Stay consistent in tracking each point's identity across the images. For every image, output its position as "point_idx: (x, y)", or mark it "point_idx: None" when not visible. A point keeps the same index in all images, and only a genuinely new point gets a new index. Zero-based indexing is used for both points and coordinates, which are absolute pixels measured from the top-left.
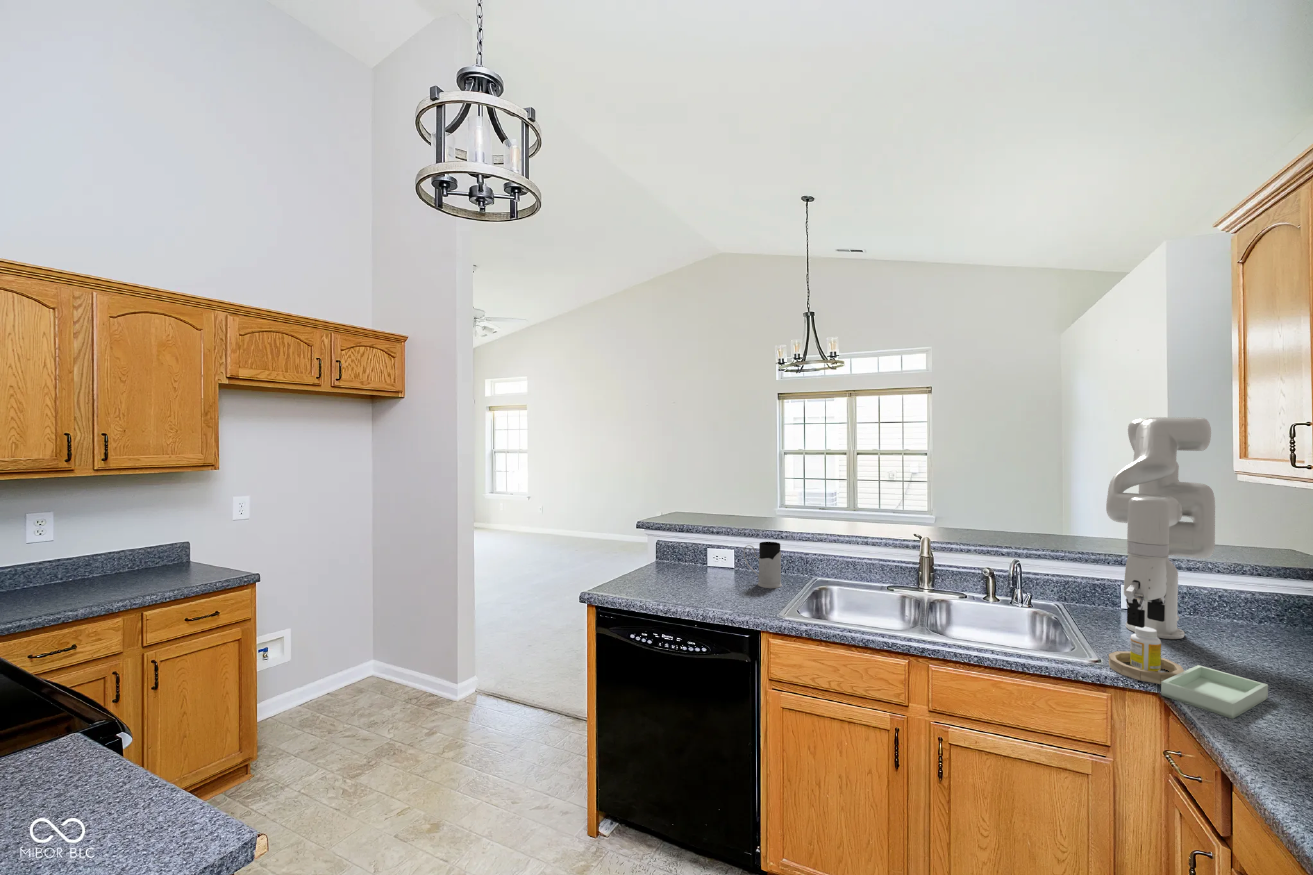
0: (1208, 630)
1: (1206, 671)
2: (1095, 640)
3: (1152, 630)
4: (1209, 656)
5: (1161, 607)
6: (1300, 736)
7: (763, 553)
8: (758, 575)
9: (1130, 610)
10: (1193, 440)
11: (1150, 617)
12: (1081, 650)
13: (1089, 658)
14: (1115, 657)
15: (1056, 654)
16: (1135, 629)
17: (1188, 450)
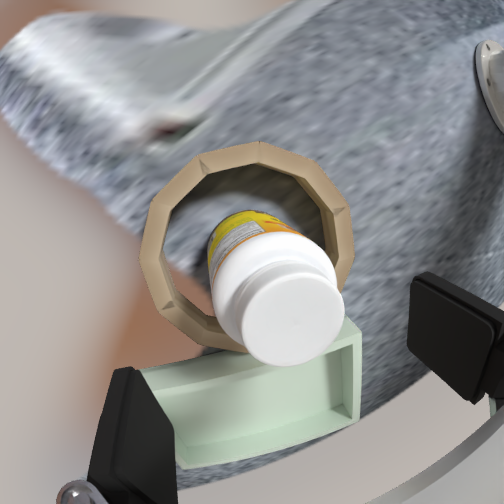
0: None
1: (349, 347)
2: (354, 20)
3: (299, 353)
4: (480, 219)
5: (461, 392)
6: (227, 477)
7: None
8: None
9: (91, 477)
10: None
11: (415, 298)
12: (220, 44)
13: (170, 106)
14: (188, 190)
15: (95, 59)
16: (250, 293)
17: None
